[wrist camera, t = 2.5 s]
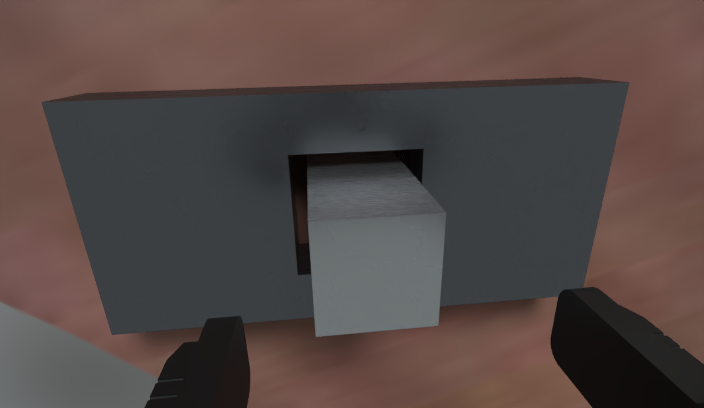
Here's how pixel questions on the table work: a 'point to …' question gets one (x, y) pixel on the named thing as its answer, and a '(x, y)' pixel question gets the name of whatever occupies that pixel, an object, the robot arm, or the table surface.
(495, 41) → the table surface
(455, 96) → the dark grey flat block
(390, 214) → the tall gray box
